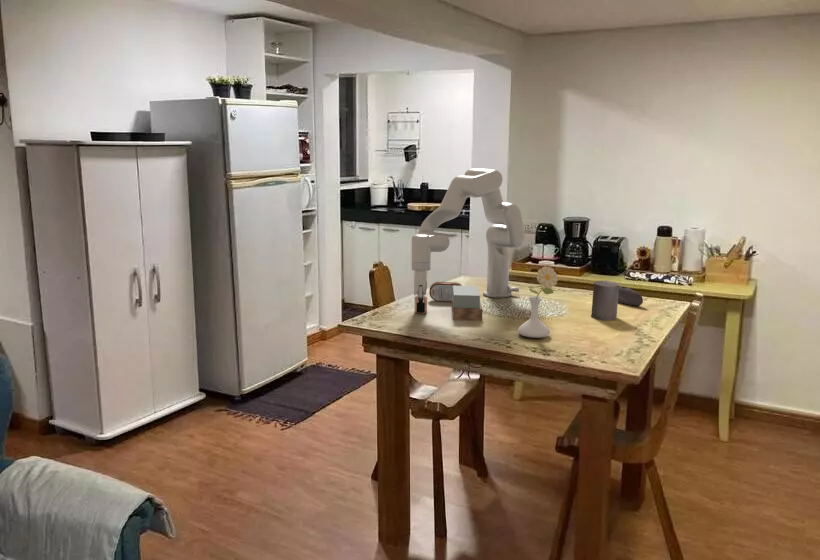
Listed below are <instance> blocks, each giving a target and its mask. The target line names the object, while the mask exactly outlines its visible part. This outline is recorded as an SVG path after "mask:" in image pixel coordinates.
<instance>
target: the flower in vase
mask: <svg viewBox="0 0 820 560" xmlns="http://www.w3.org/2000/svg"><path fill="white" fill-rule="evenodd" d="M536 277H537V278H536V280H537V282H538V284H539V286H541V289H540V291H539V292H538V291H536V290H533V289H532V288H530V287H529V291H530V292H531V293H534V294H536V295H535V296H534V295H531V296H528V297H527V298H528V300H529V303H530V306H531V307H530V308H531V314H530V317H529V319H528V320H527V321H525V322H523V323H522V324H521V325H519V327H518V328H517V330H516V331H517V332H518V334H519V335H520V336H523V337H527V338H531V339H534V338H535V339H539V338H545V337H547V336H549V335H550V334H551V329H550V328H549V327H548V326H547V325H545V324H544V322H542V320H541V319H539V316H538V315H539V306H540V303H541V301H542V300H543V297H542V296H539V295H540V294H541V292H543V293H544V294H545V295H551V294H554V290H552V288H553V287H555V286H557V284H558V283H557V282H559V279H558V278H559V276H558V274H557V272H556V271H555V270H554V268H553V267H550V266H548V267H547V266H546V265H545V266H542V267H541V268H540V269H538V270H537V274H536Z"/></svg>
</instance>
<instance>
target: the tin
mask: <svg viewBox="0 0 820 560" xmlns="http://www.w3.org/2000/svg"><path fill="white" fill-rule="evenodd" d="M453 286H463V285H462V284H461V283H459V282H456V281H455V282H454V281H453V282H452V281H435V282H433V283H432V284H431V285H430V286H429V290H428V291H429V293H428V294H429V296H430V298H431V299H432V300H433V301H434V302H440V303H443V302H444V303H452V297H453Z"/></svg>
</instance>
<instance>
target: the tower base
mask: <svg viewBox="0 0 820 560" xmlns="http://www.w3.org/2000/svg"><path fill="white" fill-rule="evenodd" d="M451 312H452V313H453V314H452V319H453V321H483V307H482V302H480V308H453V297H452V302H451Z"/></svg>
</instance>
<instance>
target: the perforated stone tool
mask: <svg viewBox="0 0 820 560" xmlns="http://www.w3.org/2000/svg"><path fill="white" fill-rule="evenodd" d="M643 299H644V298H643V296H642V295H641V294H640V293H639V292H638V291H636V290H633V289H632V288H628V287H625V286H622V285H619V293H618V303H619V304H620V303H621V304H623V303H624V305H627V304H628V305H627V306H632V305H634V306H633V307H640V306H641V305H642V304H643V303H644V301H643Z"/></svg>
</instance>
